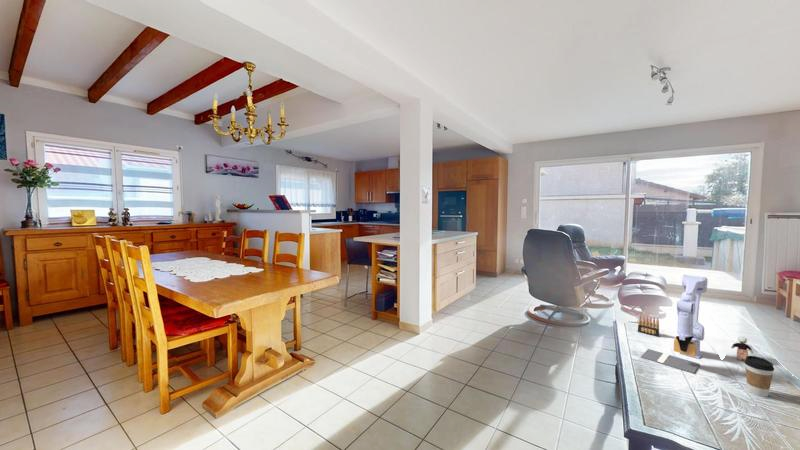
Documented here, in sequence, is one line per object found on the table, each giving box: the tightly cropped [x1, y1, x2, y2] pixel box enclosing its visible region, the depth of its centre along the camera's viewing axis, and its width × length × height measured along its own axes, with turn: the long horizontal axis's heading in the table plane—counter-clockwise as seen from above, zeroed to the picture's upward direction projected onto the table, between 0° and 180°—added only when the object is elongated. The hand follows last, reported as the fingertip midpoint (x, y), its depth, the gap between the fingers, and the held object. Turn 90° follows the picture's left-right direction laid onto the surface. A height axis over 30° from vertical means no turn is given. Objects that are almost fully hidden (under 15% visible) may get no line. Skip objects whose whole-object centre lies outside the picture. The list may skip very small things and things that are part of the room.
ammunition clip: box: [637, 314, 660, 338], centre depth 192 cm, size 11×2×12 cm, turn 38°
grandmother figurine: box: [730, 336, 754, 362], centre depth 158 cm, size 8×4×13 cm, turn 54°
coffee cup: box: [743, 355, 775, 398], centre depth 130 cm, size 8×8×15 cm
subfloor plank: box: [640, 348, 700, 375], centre depth 158 cm, size 14×21×1 cm, turn 37°
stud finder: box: [673, 337, 697, 358], centre depth 153 cm, size 4×8×6 cm, turn 38°
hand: (684, 349), depth 153 cm, fingers closed on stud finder, 4 cm apart
